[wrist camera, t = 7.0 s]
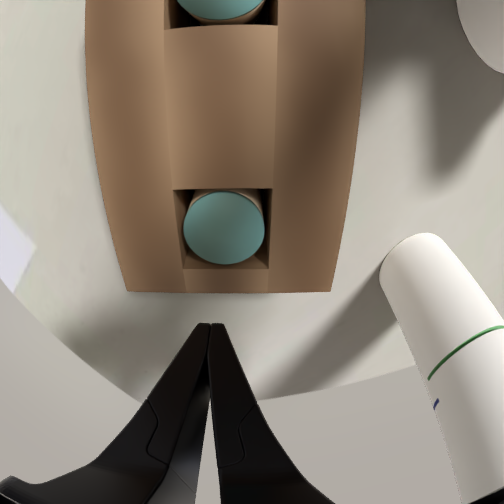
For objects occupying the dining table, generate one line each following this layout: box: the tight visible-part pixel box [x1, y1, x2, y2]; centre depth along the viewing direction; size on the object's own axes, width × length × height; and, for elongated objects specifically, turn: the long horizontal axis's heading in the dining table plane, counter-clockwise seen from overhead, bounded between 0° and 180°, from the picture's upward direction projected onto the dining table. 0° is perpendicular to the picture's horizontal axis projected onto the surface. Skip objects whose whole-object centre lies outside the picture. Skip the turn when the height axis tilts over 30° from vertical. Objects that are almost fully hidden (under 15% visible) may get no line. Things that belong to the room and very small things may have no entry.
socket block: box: [85, 0, 365, 293], centre depth 14 cm, size 12×20×6 cm, turn 179°
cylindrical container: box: [379, 233, 504, 504], centre depth 14 cm, size 7×7×25 cm
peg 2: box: [184, 188, 264, 264], centre depth 17 cm, size 4×4×6 cm
